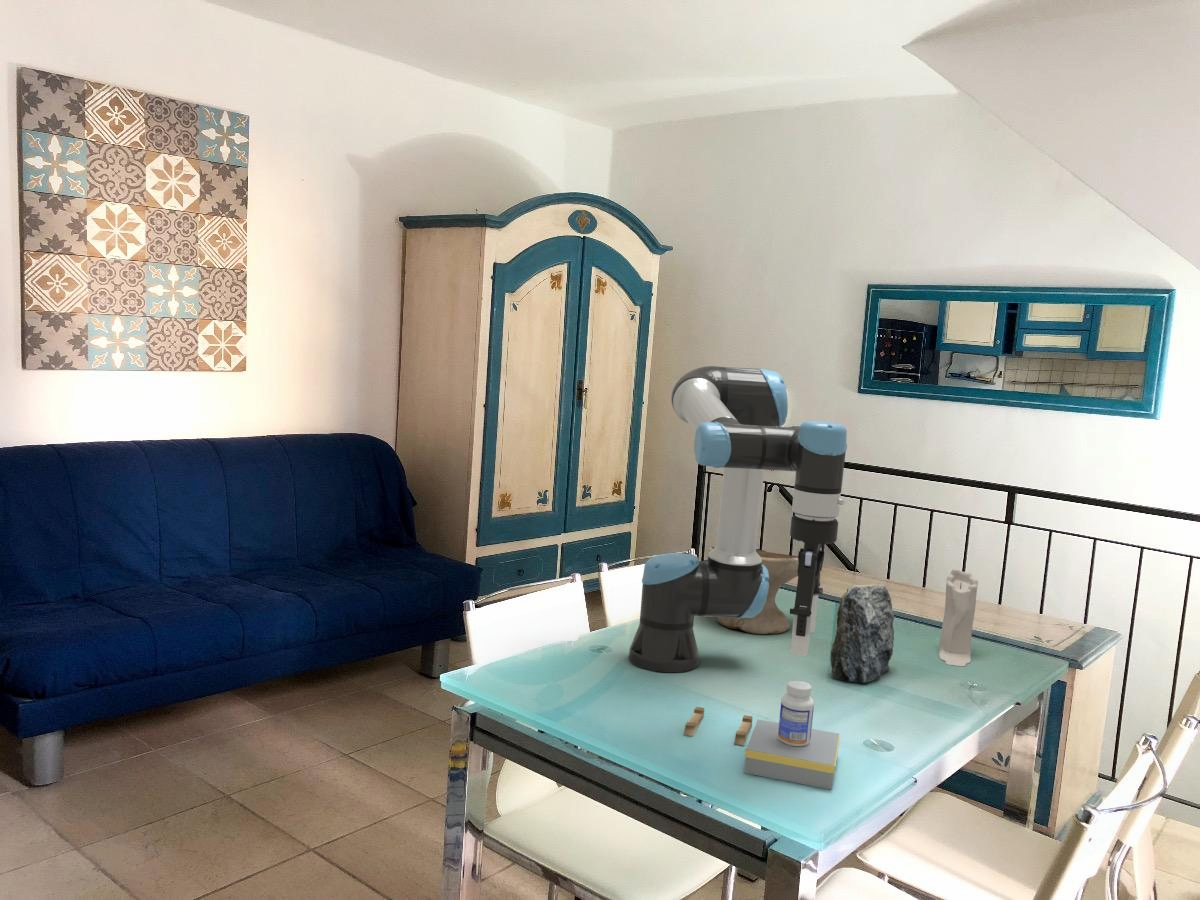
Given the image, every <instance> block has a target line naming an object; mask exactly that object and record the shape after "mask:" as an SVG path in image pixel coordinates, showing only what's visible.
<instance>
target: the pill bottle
mask: <svg viewBox="0 0 1200 900" xmlns="http://www.w3.org/2000/svg"><path fill="white" fill-rule="evenodd" d="M811 695H812V685H811V684H809V683H808V682H805V681H801V680H790V681H788V682H787V685H786V693H785V694H783V695H782V697H781V701H780V711H779V720H778V723H779V728H778V739H779V740H780V741H781V742H783V743H785V744H787V745H791V746H805V745H808V744H809V743H810V739H811V729H813V719H814V717H813V716H814V711H815V709H814V708H815V702H814V699H813V698H812V697H811Z"/></svg>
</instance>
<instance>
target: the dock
mask: <svg viewBox="0 0 1200 900" xmlns="http://www.w3.org/2000/svg"><path fill="white" fill-rule="evenodd" d="M778 728H779V722H775V721H768V720H763V719H759V718H758V719H757V721H756V723H755V726H754V728H753V731H752V733H751V736H750V737H749V741H748V743H747V747H746V749H745V753H744V758H745V759H744V770H743V773H744V774H749V775H754V776H759V777H764V778H769V779H775V780H781V781H786V782H791V783H797V784H802V785H805V786H811V787H817V788H822V789H827V790H833V783H834V777H835V771H836V766H837V765H836V764H837V759H838V752H839V746H840V738H841V734H840V733H838V732H832V731H828V730H827V731H826V730H821V729H815V728H812V729H811V739H810V743H809V744H808V745H805V746H791V745H787V744H785V743H783V742H781V741H780V740H779V739H778Z"/></svg>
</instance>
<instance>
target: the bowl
mask: <svg viewBox="0 0 1200 900" xmlns="http://www.w3.org/2000/svg"><path fill="white" fill-rule="evenodd" d="M714 548H715V547H714V546H711V547H710V546H709V548H708V553H709V552H710V551H711V550H713V549H714ZM756 552H757V553H758V555H759V556H760V557H761V558H762V565H764V566H765V567H766V568H767V570H768V574H769V580H768V583H769V588H768V594H767V599H766V602H765V605H764V607H763V609H762V611H761V612H760V613H759V614H758V615H757V616H755V617H752V618H739V619H736V618H730V617H716V621H717V623H718V624H720V625H721V626H723V627H725V628H727V629H730V630H731V629H732V630H733V629H735V630H740V631H742V632H744V633H748V634H758V635H770V634H775V635H776V634H783V633H785V632H787V631H788V630H789V629H790V628H791V627H790V623H789V620H788V617H787V616H786V615H785V613H784V612H783V611H782V610H781V609H780V608H778V606H777V603H776V596H777V593H778V591H779V589H780V588H781V586H783V585H785V584H786V583H789V582H790V581H792V580H793V579H795V578H796V577H798V572H797V571H798V564H799V562H798V555H792V554H791V555H789V554H783V553H777V552H776V553H775V552H769V551H764V550H759V549H756Z"/></svg>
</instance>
